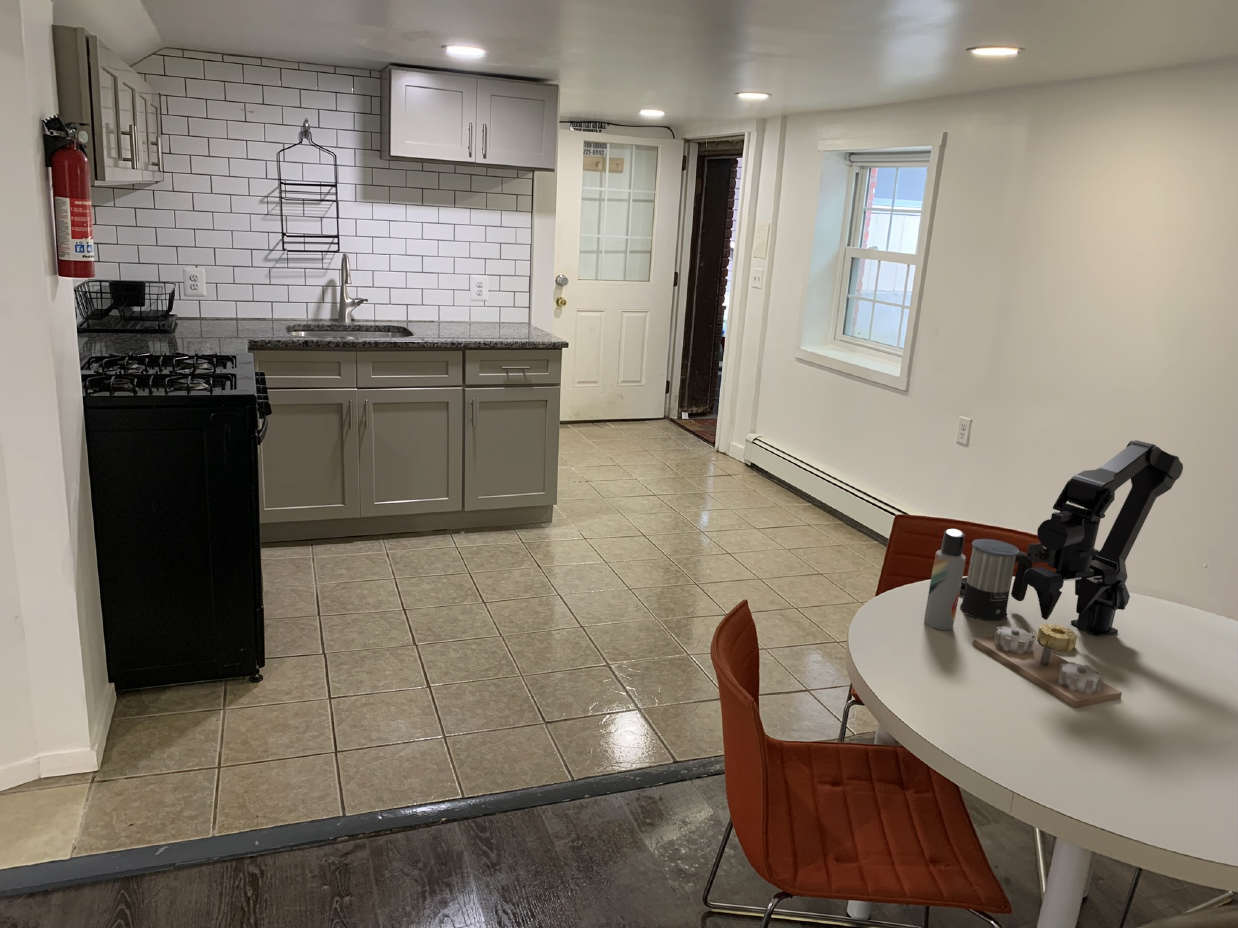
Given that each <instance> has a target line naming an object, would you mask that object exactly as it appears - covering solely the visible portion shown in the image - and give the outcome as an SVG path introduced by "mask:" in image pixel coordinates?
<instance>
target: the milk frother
mask: <svg viewBox="0 0 1238 928" xmlns="http://www.w3.org/2000/svg"><path fill="white" fill-rule="evenodd" d="M971 546H972V549H971V556H970V561H969V565H968V566H969V567H968V570H967V572H968V573H967V576H966V577H962V583H961V588H960V593H959V595H960V596H962V602H961V603H960V609H961V611H962V612H963V613H965V614H967V615H968V616H971V617H972V618H975V619H979V620H984V621H993V622H994V621H995V622H996V621H1003V620H1005V619H1006V618H1007V616H1008V613H1007V611H1008V603H1009V597H1010V595H1011V597H1012V598H1013V599H1014V600H1016V602H1017V601H1018V602H1023V601H1024V600H1025V598H1026V594H1027V591H1028V587H1029V584H1028V583H1027V582H1025V581H1023V578H1024V573H1025V570H1027V569H1029V568H1034V563H1033V560H1029V559H1028V556H1027V553H1025V552H1023V551H1021V550H1019V548H1018V547H1016V546H1015V545H1013V544H1012V543H1011V544H1010V543H1008V542H1005V541H1002V540H997V539H993V538H992V539H991V538H978V539H974V540H973V541H971ZM1016 563H1017V567H1016V571H1015V575H1014V569H1015V564H1016ZM1013 575H1014V580H1012V579H1013ZM1012 581H1013V584H1012ZM1011 585H1012V586H1011ZM1011 587H1012V588H1011ZM1010 590H1011V593H1010Z"/></svg>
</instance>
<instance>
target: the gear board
mask: <svg viewBox="0 0 1238 928" xmlns="http://www.w3.org/2000/svg"><path fill="white" fill-rule="evenodd" d="M1034 637H1035V636H1034V634H1033V633H1030V632H1028V631H1026V629H1024V628H1021V627H1016V626H1011V625H1004V626H997V627H996V629H995V633H994V634H993V635H989V636H982V637H975V638H973V640H972V645H973V646H975V647H976V648H978V649H979V650H981V651H983V652H984V653H986V654H988V655H990V656H991V657H993V658H994V659H996V660H997V661H999V662H1001V663H1002V664H1004V665H1005V666H1007V667H1009V668H1010V669H1012V670H1014V671H1015V672H1016V673H1018V674H1020V675H1021V676H1023V677H1025V678H1026V679H1028V680H1030V681H1031V682H1033V683H1035V684H1036V685H1037V686H1039V687H1041V688H1043V689H1044V690H1046V691H1047V692H1049V693H1050V694H1052V695H1054V696H1055V697H1058V698H1059V699H1061V701H1064V702H1065V703H1067V704H1068V705H1070V706H1072V707H1073V708H1075V707H1076V708H1080V707H1085V705H1086V706H1090V704H1091V705H1096V704H1099V703H1100V702H1101V703H1104V702H1105V701H1106V702H1109V701H1110V702H1111V701H1114V700H1120V699H1121V698H1122V694H1123V692H1122V691H1120V690H1118V689H1117V688H1115V687H1113V686H1112V685H1110V684H1108V683H1106V682H1105V681H1103V680H1104V679H1103V677H1102V673H1101V672H1100V671H1097V670H1095V669H1094V668H1092V666H1089V665H1087V664H1080V663H1077V662H1073V661H1068V660H1066V659H1065V658H1063V657H1061V656H1060V655H1057V654H1055V653H1054V652H1052V648H1050V647H1043V646H1041V644H1038V643H1037V642H1034V641H1035V639H1034Z"/></svg>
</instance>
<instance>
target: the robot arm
mask: <svg viewBox="0 0 1238 928" xmlns="http://www.w3.org/2000/svg"><path fill="white" fill-rule="evenodd" d="M1183 470H1184V465H1183V463H1182V461H1181V460H1180V457H1179V456H1177V455H1174V454H1170V453H1168V452H1166V451H1165V450H1162V449H1161V448H1160V447H1159V446H1157V445H1156V444H1154V443H1151V442H1145V441H1141V440H1137V439H1136V440H1130V441H1129V442H1128V444H1127V445H1126V447H1125V448H1124V449H1123V450H1121V451H1120V452H1119V453H1117V454H1116V455H1115V456H1113V457H1112V458H1110V459H1109V460H1108V461H1106V462H1105V463H1104V464H1102V465H1101V466H1100V467H1098V468H1096V469H1090V470H1083V471H1080V472H1079V473H1077V474H1075V475H1073V476H1072V477H1071V478H1070V479H1069V480H1067V482H1066V484H1065V485H1064V487H1063V489H1062V490H1061V493H1060V494H1059V496H1058V497H1057V499H1056V500H1055V502H1054V504H1053V506H1052V509H1053V510H1055V511H1056V512H1052V513H1051V516H1050V518H1049V519H1046V520H1045V519H1044V520H1043V521H1042V523H1040V524H1039V526H1038V528H1037V532H1036V533H1037V539H1038V541H1039V543H1029V544H1028V547H1027V551H1026V554H1027V556H1028V559H1029V560H1032V563H1033V565H1035V564H1037V565H1038V564H1047V567H1049V568H1050V569H1048V568H1047V567H1044V566H1043V565H1042V566H1037V567H1036V566H1033V568H1029V569H1027V570H1025V573H1024V578H1023V581H1025V582H1027V583H1028V586H1030V587H1032V588H1033V589H1034V590H1035V592H1036V596H1037V599H1038V604H1039V609H1040V616H1041V618H1042V619H1043V620H1046V621H1047V620H1048V619H1049V618H1050V616H1051V615H1052V613H1053V611H1054V609H1055V607H1056V605H1057V604H1058V602H1059V599H1060V598H1061V596H1062V594H1063V591H1061V589H1062V588H1063V586H1064V582H1069V581H1074V595H1076V596H1077V598H1076V599H1077V600H1076V608H1075V610H1076V611H1075V612H1076V613H1077V614H1078V617H1077V619H1073V620H1071V621H1070V623H1071V625H1074V626H1076V627H1077V628H1080V630H1081V629H1082V630H1083V631H1085V632H1087V633H1089V634H1091V635H1093V636H1096V637H1099V636H1105V635H1112V634H1117V633H1119V629H1117V628H1115V627H1113V624H1114V619H1115V615H1116V611H1117V610H1121V611H1124V610H1125V609H1126V607H1127V605H1128V604H1129V601H1130V598H1131V595H1130V593H1129V591H1128V588H1127V585H1126V582H1127V579H1128V571H1127V566H1126V560H1127V559H1128V556H1129V554H1130V553H1131V550H1132V548H1133V546H1134V545H1135V542H1136V540H1137V538H1138V536H1139V534H1140V532H1141V530H1142V528H1143V525H1144V523H1145V521H1146V520H1147V518H1148V515H1149V513H1150V512H1151V510H1152V507H1153V506H1154V503H1155V501H1156V500H1157V498H1158V497H1160V496H1162V495H1164V494H1165V493H1166V492H1168V491H1170V490H1171V489H1172V488H1173V486H1174V484H1175V483H1176V481H1177V480H1178V479H1180V477H1181V476H1182V474H1183ZM1129 480H1130V483H1131V488H1130V490H1129V492H1128V494H1127V496H1126V498H1125V500H1124V502H1123V504H1122V507H1121V508H1120V510H1119V511H1118V514H1117V517H1116V518H1115V520H1114V522H1113V525H1112V527H1111V528H1110V530H1109V533H1108V535H1107V537H1106V538H1105V541H1104V543H1103V545H1102V547H1101V549H1100V550H1098V549H1097V548H1095V546H1096V541H1097V538H1098V537H1097V536H1098V532H1099V529H1100V525H1101V524H1100V523H1101V519H1104V518H1106V514H1105V513H1106V512H1107V510H1108V508H1110V506H1111V505H1112V503H1113V502H1114V501H1115V498H1116V497H1115V495H1116V491H1117V490H1118V489H1119V488H1120V487H1121V486H1122V485H1124V484H1126V483H1127V482H1128V481H1129ZM1057 511H1059V512H1057ZM1051 568H1052V569H1055V571H1053V570H1051Z"/></svg>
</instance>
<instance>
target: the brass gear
mask: <svg viewBox="0 0 1238 928" xmlns="http://www.w3.org/2000/svg"><path fill="white" fill-rule="evenodd" d="M1036 639H1037V641H1039V643H1040V645H1043V646H1045V647H1047V648H1049V649H1053V650H1055V651H1067V652H1069V651H1072V650H1073V649H1076V645H1077V640H1078V634H1077V633H1075V631H1074V630H1073V629H1072V628H1069V627H1065V626H1062V625H1060V624H1057V623H1056V624H1052V623H1042V625H1041V626H1039V627H1038V632H1037V635H1036Z"/></svg>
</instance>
